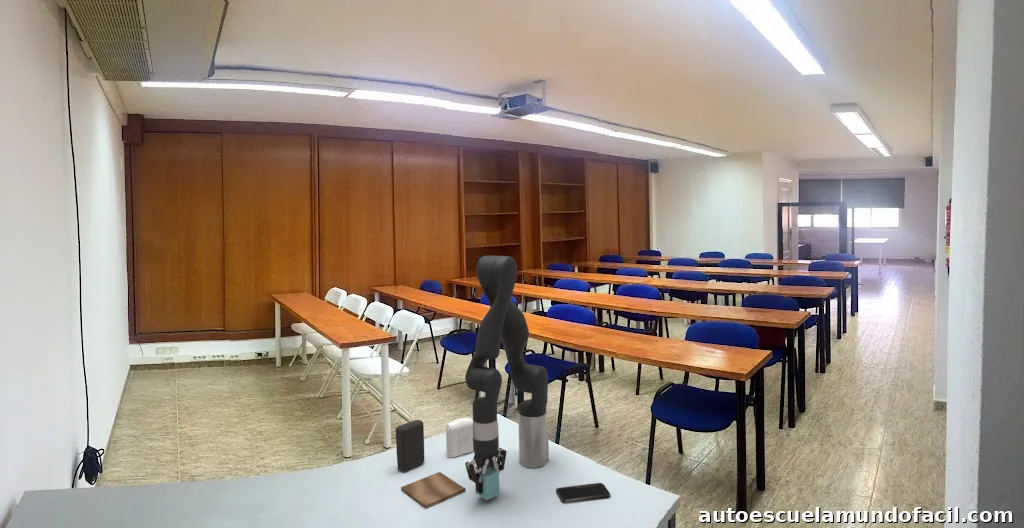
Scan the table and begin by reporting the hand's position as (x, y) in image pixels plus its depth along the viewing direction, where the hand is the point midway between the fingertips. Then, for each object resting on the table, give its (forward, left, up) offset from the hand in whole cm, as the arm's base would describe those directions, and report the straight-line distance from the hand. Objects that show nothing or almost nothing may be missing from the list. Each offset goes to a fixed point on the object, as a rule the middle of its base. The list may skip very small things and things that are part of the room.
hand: (487, 488), depth 159 cm
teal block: (0, 0, -1) cm, 1 cm away
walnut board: (+9, -15, -3) cm, 18 cm away
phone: (-23, +17, -4) cm, 29 cm away
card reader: (+6, -33, -3) cm, 34 cm away
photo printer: (-12, -30, -3) cm, 32 cm away
